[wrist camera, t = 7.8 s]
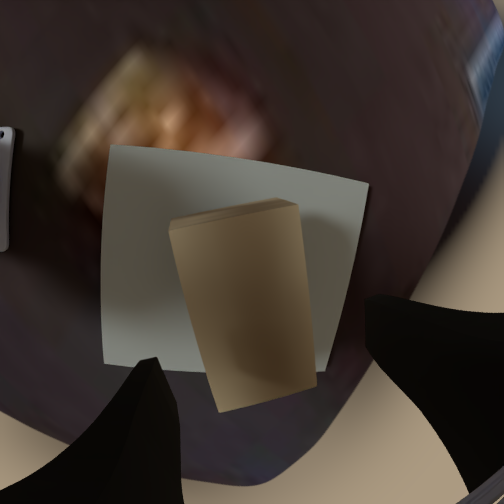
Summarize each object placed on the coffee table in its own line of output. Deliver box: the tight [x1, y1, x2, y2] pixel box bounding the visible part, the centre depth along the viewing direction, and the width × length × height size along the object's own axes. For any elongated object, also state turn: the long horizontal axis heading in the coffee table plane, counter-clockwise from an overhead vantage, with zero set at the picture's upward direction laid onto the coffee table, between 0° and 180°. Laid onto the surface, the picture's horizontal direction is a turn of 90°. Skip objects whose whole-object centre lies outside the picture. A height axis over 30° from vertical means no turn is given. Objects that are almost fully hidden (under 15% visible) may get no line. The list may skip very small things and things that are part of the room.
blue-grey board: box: [101, 145, 369, 372], centre depth 20 cm, size 16×14×1 cm
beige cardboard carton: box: [168, 197, 317, 413], centre depth 16 cm, size 5×9×6 cm, turn 10°
